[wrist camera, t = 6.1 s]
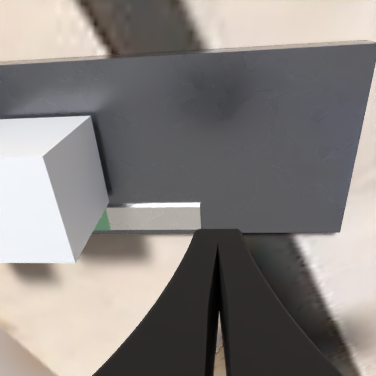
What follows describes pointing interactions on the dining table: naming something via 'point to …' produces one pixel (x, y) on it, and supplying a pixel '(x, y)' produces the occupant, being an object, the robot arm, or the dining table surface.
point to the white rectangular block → (48, 188)
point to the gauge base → (212, 131)
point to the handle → (220, 363)
